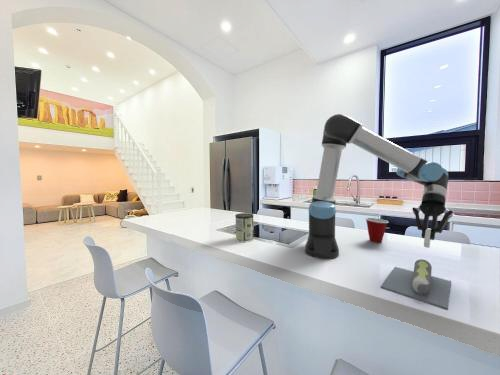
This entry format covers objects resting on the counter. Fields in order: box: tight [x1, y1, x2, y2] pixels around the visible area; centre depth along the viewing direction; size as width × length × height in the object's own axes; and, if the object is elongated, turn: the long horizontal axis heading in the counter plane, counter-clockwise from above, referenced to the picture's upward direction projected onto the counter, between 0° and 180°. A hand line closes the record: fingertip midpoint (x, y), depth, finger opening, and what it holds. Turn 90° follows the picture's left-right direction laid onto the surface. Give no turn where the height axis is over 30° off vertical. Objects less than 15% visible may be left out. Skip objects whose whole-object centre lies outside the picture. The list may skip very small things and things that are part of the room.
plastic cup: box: [365, 217, 389, 243], centre depth 115 cm, size 11×11×12 cm
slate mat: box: [380, 266, 452, 310], centre depth 70 cm, size 20×16×1 cm
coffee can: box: [234, 212, 254, 242], centre depth 121 cm, size 10×10×14 cm
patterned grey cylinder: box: [412, 258, 432, 294], centre depth 71 cm, size 5×5×20 cm
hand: (426, 245), depth 80 cm, fingers closed
